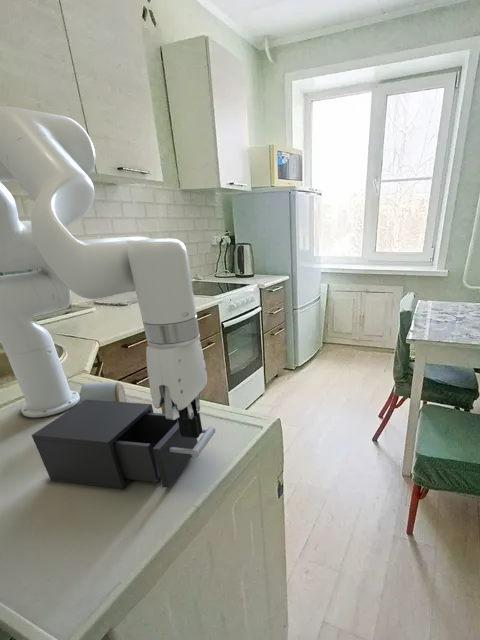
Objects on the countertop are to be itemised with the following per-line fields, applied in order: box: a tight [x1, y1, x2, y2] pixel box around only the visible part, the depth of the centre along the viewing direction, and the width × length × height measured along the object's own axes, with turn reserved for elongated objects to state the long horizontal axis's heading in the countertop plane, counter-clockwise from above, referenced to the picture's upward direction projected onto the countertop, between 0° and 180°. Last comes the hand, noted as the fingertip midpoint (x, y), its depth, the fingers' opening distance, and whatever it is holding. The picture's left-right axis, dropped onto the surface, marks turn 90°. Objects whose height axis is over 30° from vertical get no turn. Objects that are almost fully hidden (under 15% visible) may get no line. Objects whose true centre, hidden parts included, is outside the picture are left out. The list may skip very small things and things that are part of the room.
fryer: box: [31, 400, 155, 490], centre depth 64 cm, size 15×13×10 cm
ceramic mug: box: [79, 381, 127, 403], centre depth 84 cm, size 11×8×8 cm
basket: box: [112, 412, 216, 489], centre depth 62 cm, size 19×11×8 cm, turn 78°
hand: (192, 434), depth 60 cm, fingers closed
